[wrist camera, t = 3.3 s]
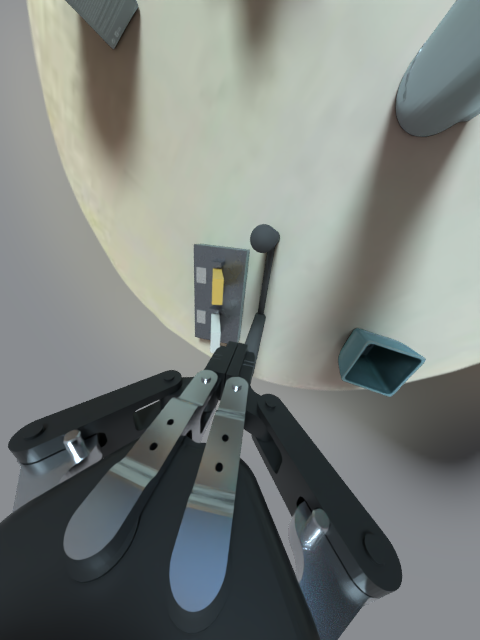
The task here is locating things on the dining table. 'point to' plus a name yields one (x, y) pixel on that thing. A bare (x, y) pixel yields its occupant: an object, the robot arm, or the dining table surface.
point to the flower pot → (377, 362)
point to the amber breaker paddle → (217, 286)
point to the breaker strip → (233, 289)
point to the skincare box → (106, 16)
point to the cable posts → (263, 242)
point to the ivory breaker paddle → (215, 332)
